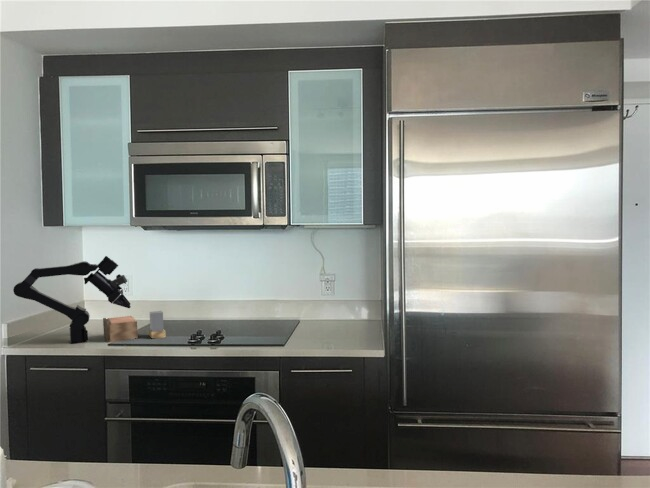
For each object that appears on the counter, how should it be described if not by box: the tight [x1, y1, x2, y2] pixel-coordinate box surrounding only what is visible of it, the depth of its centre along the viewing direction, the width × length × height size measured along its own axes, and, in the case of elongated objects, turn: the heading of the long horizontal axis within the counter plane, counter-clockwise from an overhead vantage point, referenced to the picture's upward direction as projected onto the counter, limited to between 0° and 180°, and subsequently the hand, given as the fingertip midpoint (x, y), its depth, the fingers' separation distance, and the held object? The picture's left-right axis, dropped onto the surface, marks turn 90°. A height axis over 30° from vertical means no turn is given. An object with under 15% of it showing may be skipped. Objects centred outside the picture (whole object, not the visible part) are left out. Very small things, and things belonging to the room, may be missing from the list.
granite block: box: [149, 310, 165, 332], centre depth 253 cm, size 5×5×8 cm
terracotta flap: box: [106, 315, 136, 324], centre depth 253 cm, size 10×10×1 cm
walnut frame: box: [102, 317, 139, 343], centre depth 253 cm, size 12×13×8 cm
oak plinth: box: [148, 329, 167, 339], centre depth 253 cm, size 6×6×3 cm
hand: (129, 306), depth 255 cm, fingers open, 8 cm apart
